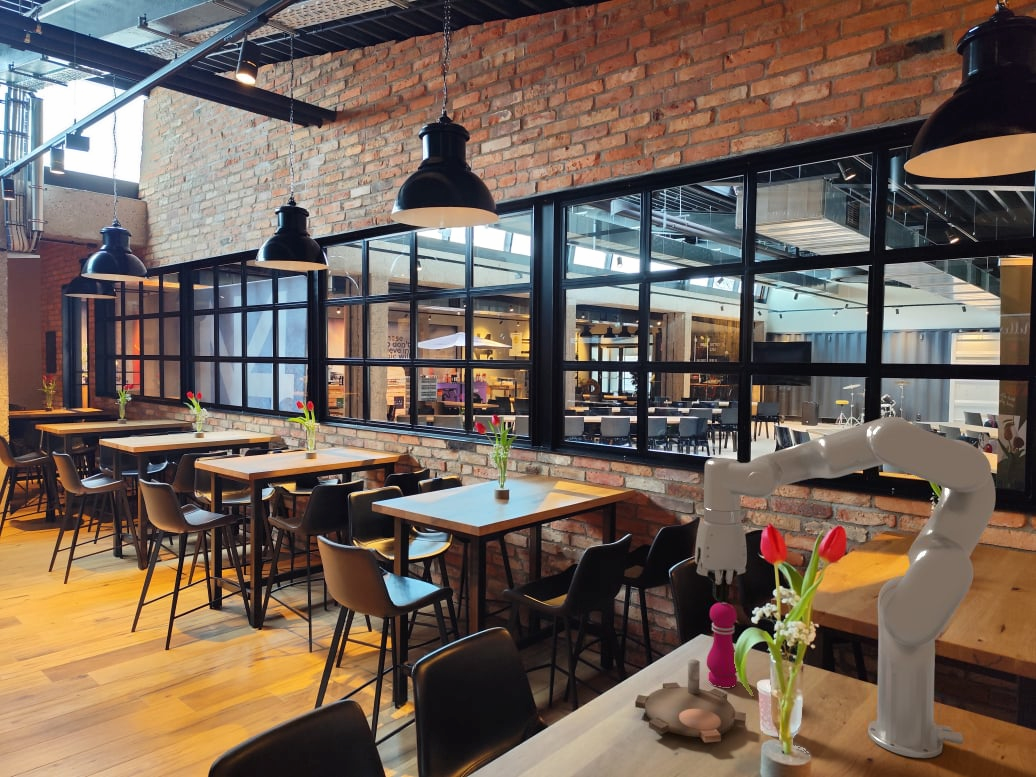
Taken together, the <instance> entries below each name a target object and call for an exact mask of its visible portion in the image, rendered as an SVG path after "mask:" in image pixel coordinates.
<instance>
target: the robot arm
mask: <svg viewBox="0 0 1036 777" xmlns="http://www.w3.org/2000/svg"><path fill="white" fill-rule="evenodd" d="M885 464H886V465H889V466H891V467H893V468H895V469H897V470H899V471H902V472H904V473H907V474H908V475H912V476H914V477H917V478H919V479H922V480H925V481H928V482H929V483H933V484H934V485H937V486H940V487H941V492H940V493H941V494H940V497H939V500H938V502H937V504H936V506H935V507H934V509H933V511H932V513H931V515H930V517H929V518H928V520H927V521H926V523H925V524H924V525H923V526H924V527H922V530H920V533H919V534H918V535H917V536H916V538H915V539H914V541H913V542H912V544H911V545H910V548H909V550H908V555H907V556H908V562H909V567H908V569H907V570H906V571H905V573H904V575H903V576H898V577H894V578H892V579H889V580H888V581H887V582H885V583H884V584H883V586H881V589H880V590H879V593H878V598H877V618H878V619H877V621H878V624H877V625H878V628H877V629H878V631H877V633H878V637H877V638H878V646H877V647H878V648H877V650H878V651H877V652H878V654H877V655H878V656H877V702H876V703H877V704H876V706H877V707H876V709H877V711H876V714H877V715H876V717H877V718H876V719H875V720H873V721H871V722H870V723H869V724H868V728H867V732H868V736H869V738H870V739H871V740H872V741H873V742H874V743H875V744H877V745H878V746H880V747H881V748H883V749H885V750H887V751H889V752H892V753H895V754H898V755H901V756H904V757H909V758H916V759H928V758H929V759H930V758H935V757H937V756H939V755H940V754H942V751H943V743H944V742H948V743H949V742H950V743H953V744H958V745H963V743H964V739H963V734H962V732H957V731H953V728H952V726H948V725H947V726H946V725H938V723H936V722H935V720H934V719H935V718H934V713H935V712H934V711H935V710H934V708H935V668H936V667H935V666H936V665H935V664H936V663H935V658H936V648H935V646H936V644H935V642H936V639H937V638H938V637H939V636H940V635H941V633H943V631H944V629H945V628H946V627H947V625H948V623H949V622H950V620H951V619H952V618H953V616H954V615H955V613H956V611H957V609H958V608H959V607H960V605H961V603H962V602H963V601H964V599H965V597H966V596H967V594H968V592H969V590H970V589H971V586H972V584H973V579H974V566H973V563H972V560H971V559H970V557H971V555H972V553H973V551H974V549H975V548H976V546H977V544H978V542H980V539H981V538H982V535H983V534H984V532H985V530H986V528H987V527H988V525H989V523H990V521H991V520H992V517H993V513H994V509H995V506H996V486H995V482H994V478H993V475H992V467H991V462H990V460H989V459H988V457H987V456H986V455H985V453H984V452H983V451H982V450H980V449H979V448H977V447H976V446H974V445H973V444H972V443H969V442H967V441H965V440H961V439H950V438H949V437H945V436H942V435H940V434H937V433H935V432H932V431H930V430H926V429H925V428H922V427H920V426H916V425H914V424H912V423H910V422H909V421H908V420H905V419H904V418H902V417H898V416H884V417H881V418H878V419H874V420H872V421H867V422H865V423H862V424H859V425H857V426H851V427H849V428H846V429H843V430H840V431H837V432H834V433H830V434H826V435H824V436H821V437H820V436H819V437H817V438H814V439H811V440H808V441H806V442H803V443H800V444H797V445H793V446H790V447H786V448H782V449H780V450H776V451H773V452H771V453H766V454H764V455H760V456H758V457H755V458H753V459H751V460H750V461H749V462H740V461H738V460H736V459H734V458H726V457H713V458H709V459H707V460H706V461H705V463H704V480H703V484H704V487H703V488H704V491H703V492H704V493H703V494H704V495H703V520H700V521H699V524H698V528H697V533H696V540H695V551H694V552H695V553H694V561H695V564H696V565H697V567H696V573H697V574H698V575H700V576H703V577H704V576H705V577H707V578H709V579H710V580H711V581H712V597H713V598H714V600H715V601H716V602H717V603H723V602H724V603H728V598H730V585H731V584H732V582H733V579H734V578H736V576H738V575H741V574H745V573H746V571H747V568H746V565H747V558H748V557H747V555H748V554H747V540H746V539H747V538H746V532H745V527H744V524H743V522H742V517H746V516H747V511H746V510H745V509H743V510H742V508H741V498H742V496H744V497H748V498H753V499H766V498H769V497H771V496H772V495H773V494H774V493H775V492H776V490H777V489H778V488H780V487H783V486H788V485H789V484H793V483H797V482H801V481H805V480H808V479H809V480H811V479H815V478H816V479H817V478H821V479H822V478H823V479H836V478H840V477H843V476H846V475H847V476H848V475H850V474H853V473H857V472H860V471H863V470H868V469H871V468H874V467H878V466H882V465H885Z"/></svg>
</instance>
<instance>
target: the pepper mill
mask: <svg viewBox="0 0 1036 777" xmlns="http://www.w3.org/2000/svg"><path fill="white" fill-rule="evenodd" d="M737 615H738V614H737V611H736V609H735V607H734V606H733V605H732V604H730V603H728V602H727V603H724V602H723V603H719V602H716V603H714V604H713V605H712V606H711V607H710V610H709V618H710V620H711V622H712V623H711V631H713V641H712V645H711V648H710V650H709V651H708V653H707V657H706V666H707V669H708V670H709V671H708V682H709V681H710V682H711V683H712V684H713V685H716V686H721V687H732V686H734V685H736V683H737V684H738V676H737V675H736V674H737V673H738V671H736V668H735V664H734V652H736V650H735V647H734V645H733V634H734V633H735V625H734V623H735V622H736V621H737V620H738V616H737ZM710 682H709V683H710ZM711 683H710V684H711ZM712 684H711V685H712ZM713 685H712V686H713ZM716 686H715V687H716ZM736 686H737V685H736Z"/></svg>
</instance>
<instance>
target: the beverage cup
mask: <svg viewBox="0 0 1036 777" xmlns="http://www.w3.org/2000/svg"><path fill="white" fill-rule="evenodd" d="M756 687H757V688H756V689H757V691H758V704H759V705H758V706H759V721H760V722H759V723H760V731H761V732H762V731H763V732H762V733H763V734H765V735H767V736H770V737H779V736H778V733H777V731H776V730H775V729H774V727H773V724H772V715H771V693H770V692H771V685H770V679H761V680H758V681H757V683H756Z"/></svg>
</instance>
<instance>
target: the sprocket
mask: <svg viewBox="0 0 1036 777" xmlns="http://www.w3.org/2000/svg"><path fill="white" fill-rule="evenodd" d="M700 663H701V662H700V660H697V659H692V658H691V659H688V661H687V686H680V685H679V684H678V682H665V683H662V688H660V689H657V690H655V691H653V692H651V693H650V694H648V695H642V694H638V695H637V697H636V700H635V701H634V702H635V703H634V707H635V708H638V709H643V710H644V712H645V714H646V716H647V718H648V719H649V721H648V728H649V729H651V730H653V731H655V732H657V733H658V734H660V735H663V734H665V733H666V732H671V733H673V734H677V735H681V736H682V735H683V736H688V737H695V738H697V737H698V738H701V740H702V741H703V742H704V743H713V742H714V743H715V742H722V734H725V733H727V732H728V731H730V730H732V728H733V727H734V726H737V727H738V726H739V727H743V728H745V727H746V722H747V721H746V720H747V715H746V714H747V713H746V712H742V711H736V709H735V707H734V706H733V704H731V702H729V701H728V693H725V692H723V691H722V690H719V689H717V688H713V689H711V690H705V689H702V688H700V676H701V674H700V671H701V670H700V668H701V667H700V666H701V664H700Z"/></svg>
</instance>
